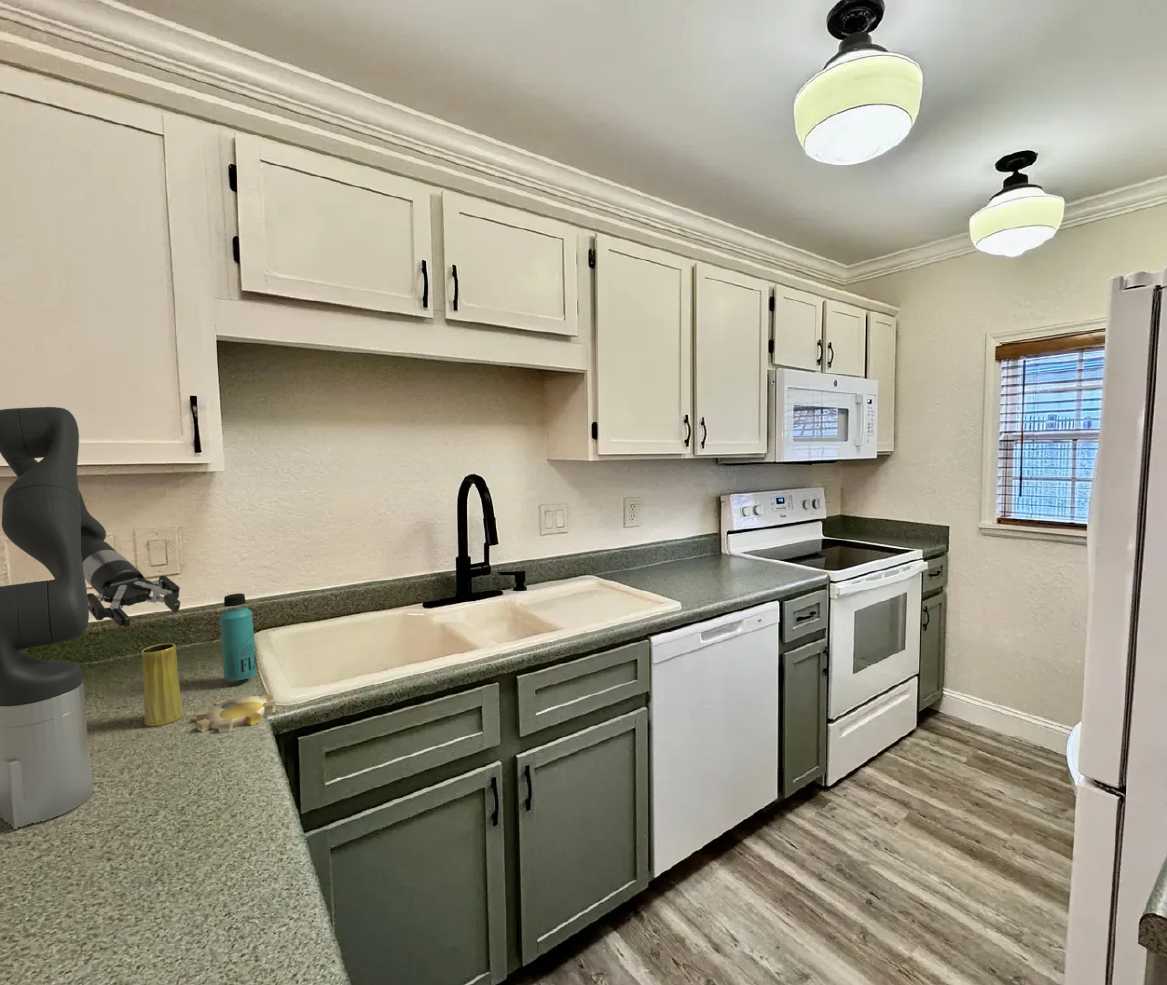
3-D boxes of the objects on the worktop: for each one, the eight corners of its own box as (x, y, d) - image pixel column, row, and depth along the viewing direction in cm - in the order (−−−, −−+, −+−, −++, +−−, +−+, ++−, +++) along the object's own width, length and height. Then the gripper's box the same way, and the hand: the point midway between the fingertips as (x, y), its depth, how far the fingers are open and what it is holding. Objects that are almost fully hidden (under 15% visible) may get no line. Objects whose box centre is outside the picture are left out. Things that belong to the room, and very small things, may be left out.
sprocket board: (218, 739, 99) (218, 731, 98) (182, 722, 105) (181, 715, 105) (289, 708, 110) (289, 701, 110) (252, 695, 117) (252, 688, 116)
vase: (191, 713, 109) (185, 643, 108) (160, 728, 103) (154, 654, 102) (168, 710, 111) (162, 641, 110) (136, 725, 105) (129, 652, 104)
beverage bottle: (242, 688, 120) (235, 599, 119) (216, 686, 121) (209, 598, 120) (264, 676, 126) (258, 591, 125) (240, 674, 128) (234, 590, 126)
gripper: (68, 569, 108) (110, 612, 102) (152, 551, 120) (194, 589, 114) (67, 600, 110) (108, 644, 104) (149, 580, 123) (190, 618, 117)
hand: (153, 615), depth 109 cm, fingers open, 8 cm apart
